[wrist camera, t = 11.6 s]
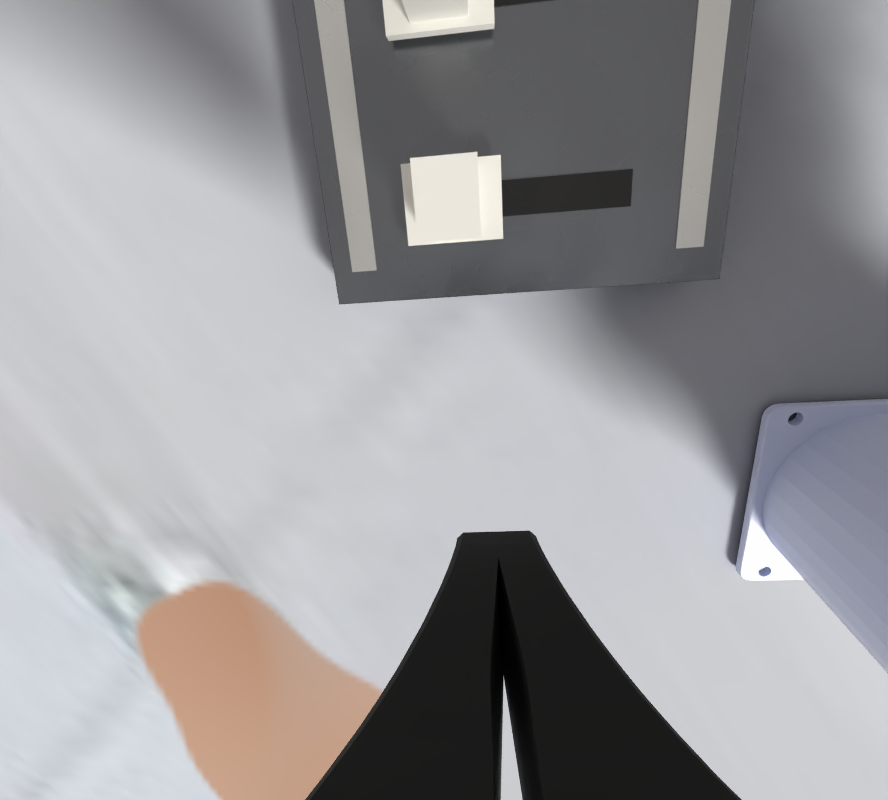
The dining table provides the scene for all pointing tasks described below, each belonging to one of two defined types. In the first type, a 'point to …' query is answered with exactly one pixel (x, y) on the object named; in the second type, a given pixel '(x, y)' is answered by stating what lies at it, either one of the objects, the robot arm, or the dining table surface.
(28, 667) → the dining table surface
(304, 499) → the dining table surface
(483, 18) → the breaker mid
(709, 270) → the panel
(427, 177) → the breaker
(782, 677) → the dining table surface
